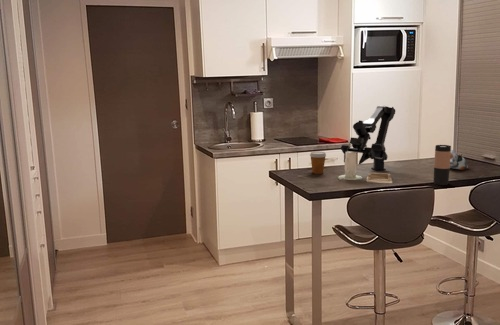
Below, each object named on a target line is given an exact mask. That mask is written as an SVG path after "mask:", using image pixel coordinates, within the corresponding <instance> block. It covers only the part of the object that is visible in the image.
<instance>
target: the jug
mask: <svg viewBox="0 0 500 325" xmlns="http://www.w3.org/2000/svg"><path fill="white" fill-rule="evenodd" d="M357 156H358V154H357V152H354V151H347V152H346V154H345V163H344V175H345V178H356V175H357V158H358V157H357Z"/></svg>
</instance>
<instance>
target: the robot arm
mask: <svg viewBox="0 0 500 325" xmlns="http://www.w3.org/2000/svg"><path fill="white" fill-rule="evenodd" d="M395 114H396V109H395V108H394V106H385V105H377V106H376V108H375V110H374V112H373V113H372V115H371V116H370V117H369V118H368V119H365V120H364V121H363V120H358V121H356V122H355V123H354V124H353V125H352V128H353V130H354V132H355V134H356V136H357V137H350V139H349V144H351V147H350V145H346V144H342V145H341V146H340V150H341V151H342V153H343V163H344V164H345V154H346V152H347V151H354V152H357V153H358V154H362V155H361V157H360V160H359V161H358V165H361V164H363V163H364V162H366V161H367V160H368V159H370V160H373V166H372V167H371V170H374V171H385V170H386V169H387V168H385V161H387V160H388V157H389V156H388V154H387V152H386V146H385V142H386V137H387V133H388V129H389V125H390V122H391V121H392V120H393V119H394V117H395ZM379 121H380V124H379V127H378V132H377V137H376V140H375V142H374V143H372V144H371V146H370V147H368V145H367V143H368V141H369V140H371V135H370V134H374V133H375V132H376V129H377V123H378V122H379Z"/></svg>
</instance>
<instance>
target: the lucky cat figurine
mask: <svg viewBox="0 0 500 325" xmlns="http://www.w3.org/2000/svg"><path fill="white" fill-rule="evenodd" d="M466 161H467V159H465V158H464V157H463V155H462V154H461V153H459V154H457V152H456V151H455V150H453V149H451V155H450V169H452V170H453V169H455V170H461V171H465V170H467V169H468V168H469V166H468V164H467V162H466Z"/></svg>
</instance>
